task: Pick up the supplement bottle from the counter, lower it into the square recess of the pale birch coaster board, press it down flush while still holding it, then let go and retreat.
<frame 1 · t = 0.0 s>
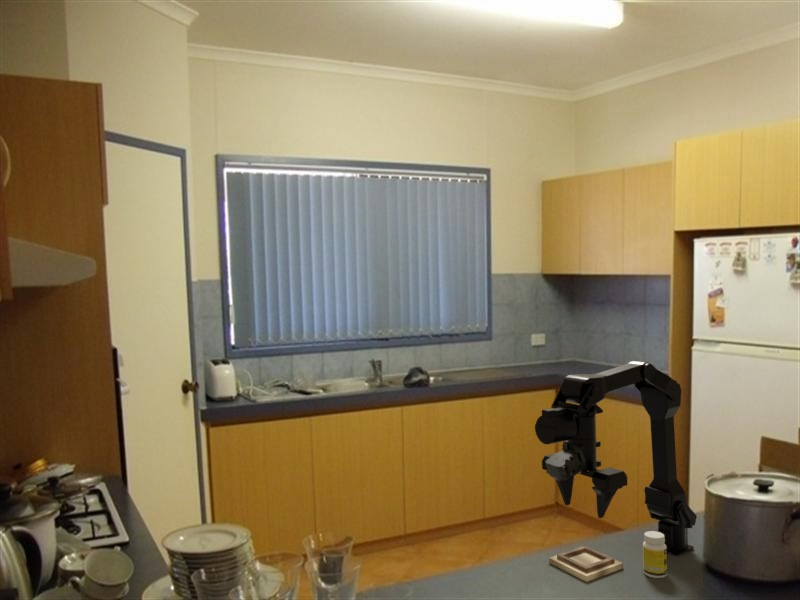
hand: (583, 511, 135), 15 cm above the counter, fingers open, 9 cm apart
coaster board: (585, 565, 143), on the counter
supplement bottle: (655, 574, 138), on the counter
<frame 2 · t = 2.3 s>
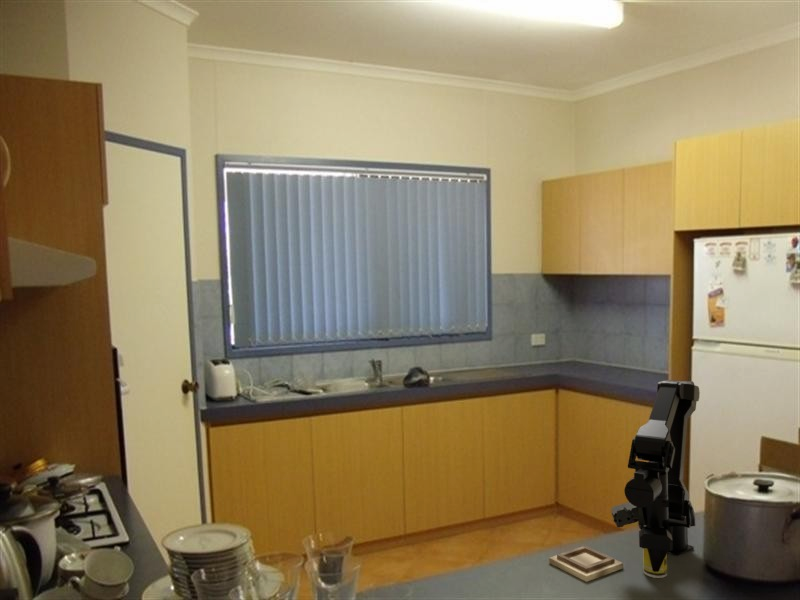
hand: (655, 566, 138), 2 cm above the counter, fingers closed on supplement bottle, 5 cm apart
supplement bottle: (655, 574, 138), on the counter, touching gripper
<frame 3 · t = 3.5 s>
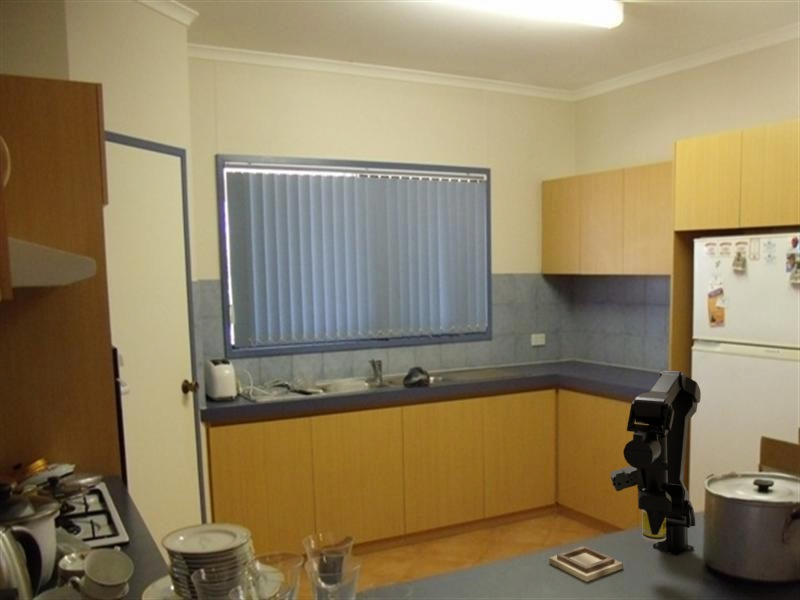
hand: (654, 529, 138), 9 cm above the counter, fingers closed on supplement bottle, 5 cm apart
supplement bottle: (654, 538, 138), point 7 cm above the counter, touching gripper
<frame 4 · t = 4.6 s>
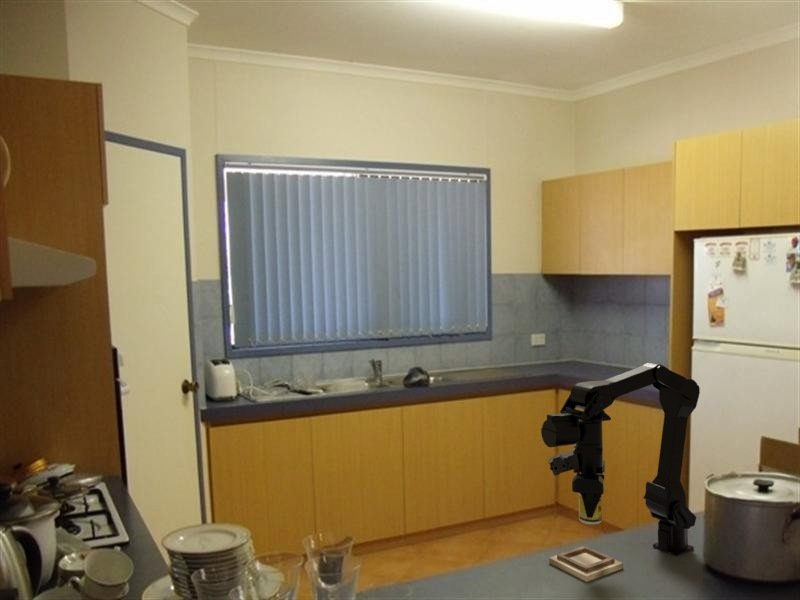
hand: (590, 513, 142), 12 cm above the counter, fingers closed on supplement bottle, 5 cm apart
supplement bottle: (590, 521, 142), point 10 cm above the counter, touching gripper
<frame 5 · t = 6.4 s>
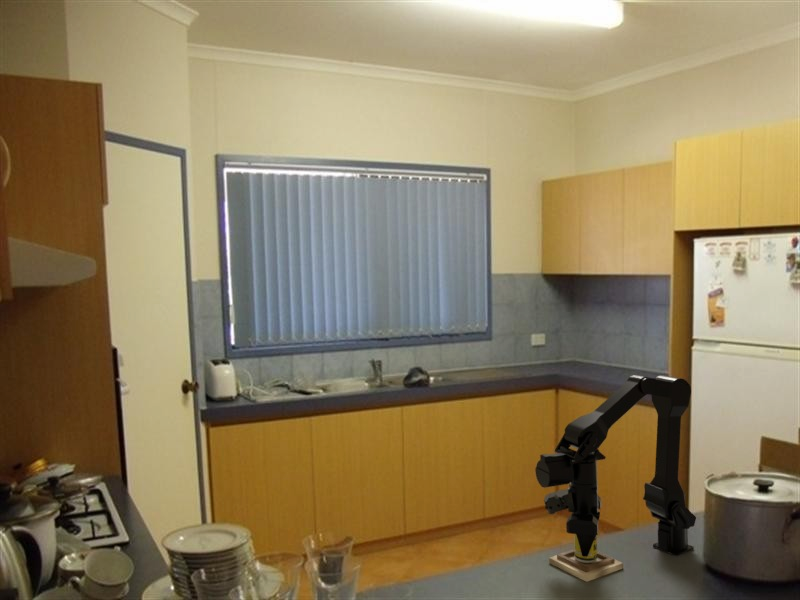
hand: (585, 551, 143), 3 cm above the counter, fingers closed on supplement bottle, 5 cm apart
supplement bottle: (585, 559, 143), point 1 cm above the counter, touching gripper
when the fingers open (3 cm above the counter, at t = 7.1 s): supplement bottle stays where it is, resting on coaster board.
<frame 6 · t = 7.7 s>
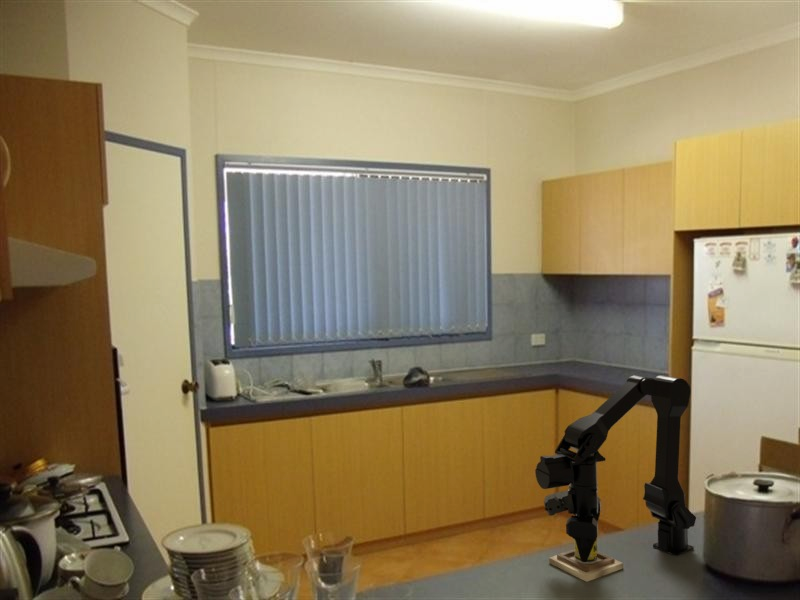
hand: (585, 552, 143), 3 cm above the counter, fingers open, 9 cm apart
supplement bottle: (586, 561, 143), point 1 cm above the counter, touching coaster board
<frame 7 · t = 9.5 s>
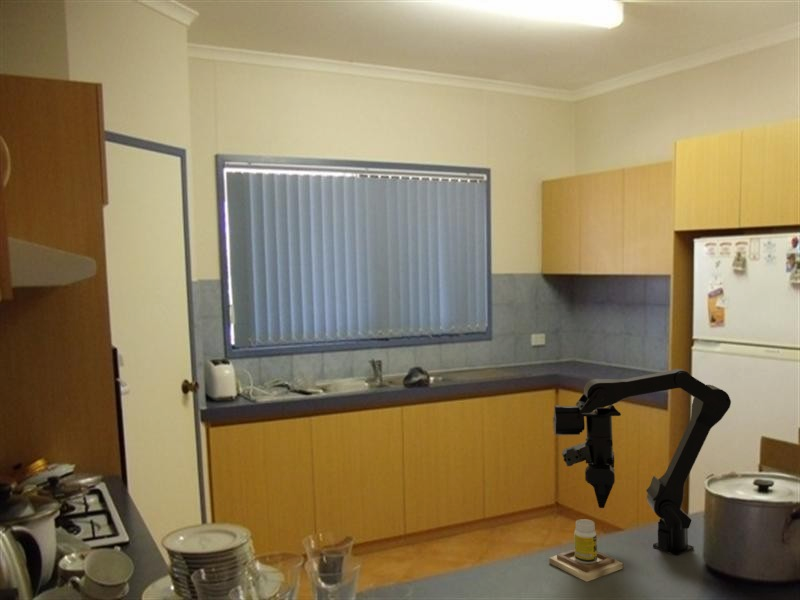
hand: (601, 500, 152), 11 cm above the counter, fingers open, 9 cm apart
nothing on the counter moved.
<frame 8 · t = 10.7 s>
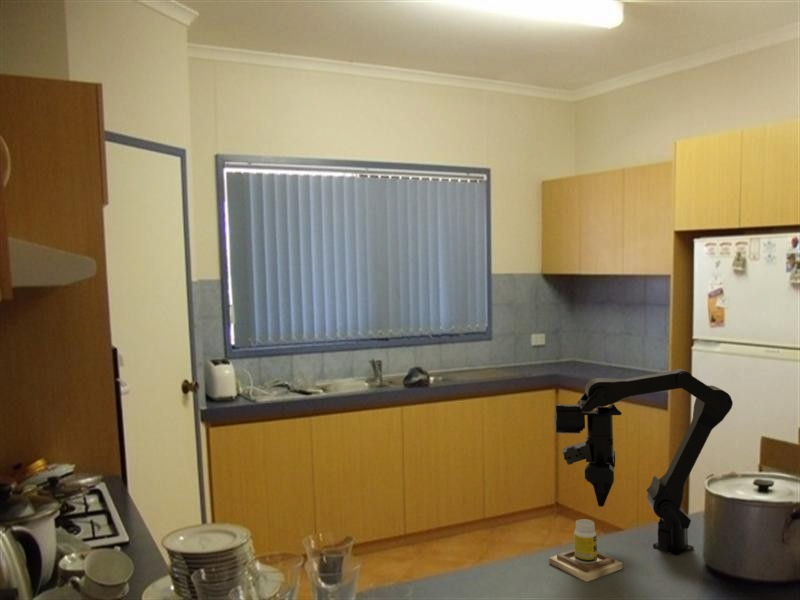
hand: (601, 499, 153), 11 cm above the counter, fingers open, 9 cm apart
nothing on the counter moved.
at the end: supplement bottle 0.1 cm off-centre on the coaster board, point 1.0 cm above the coaster board's base; supplement bottle tilted 0°; the gripper is holding nothing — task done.
